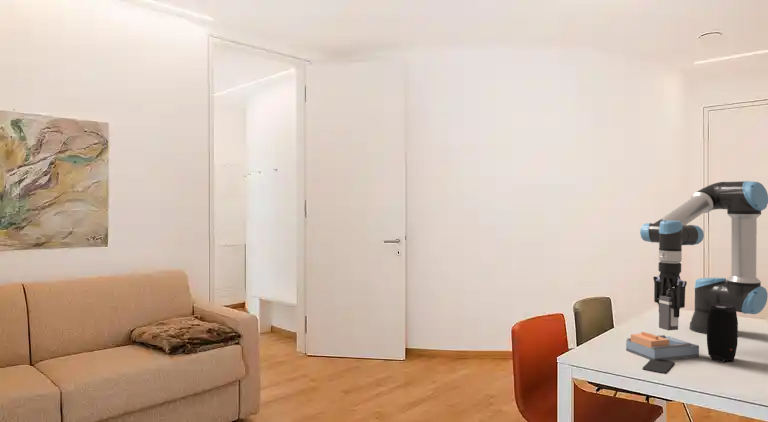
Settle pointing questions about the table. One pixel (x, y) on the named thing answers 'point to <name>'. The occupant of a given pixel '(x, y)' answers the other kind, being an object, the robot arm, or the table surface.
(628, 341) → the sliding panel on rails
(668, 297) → the grey bottle-shaped block
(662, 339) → the panel
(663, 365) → the phone
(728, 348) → the portable speaker
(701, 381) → the table surface
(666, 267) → the robot arm
